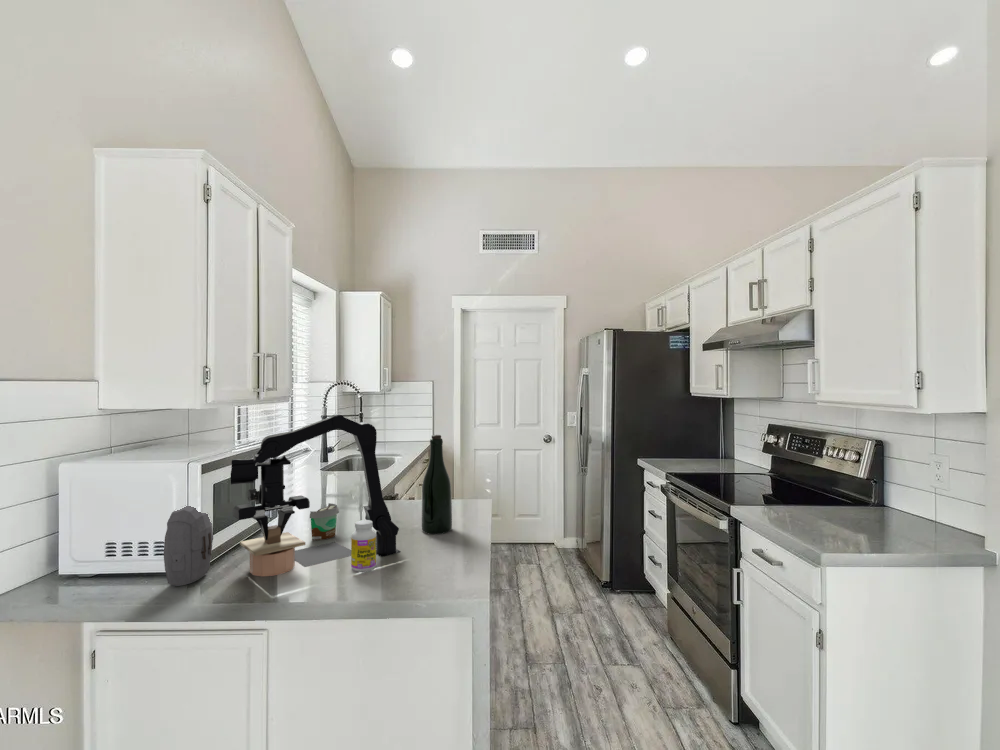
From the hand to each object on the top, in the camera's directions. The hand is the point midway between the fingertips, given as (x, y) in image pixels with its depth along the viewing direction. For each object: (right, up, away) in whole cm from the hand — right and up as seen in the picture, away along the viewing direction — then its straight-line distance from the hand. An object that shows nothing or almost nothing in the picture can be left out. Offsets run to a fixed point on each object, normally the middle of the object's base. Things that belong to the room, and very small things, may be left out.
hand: (272, 538), depth 144 cm
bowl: (0, -9, 0) cm, 9 cm away
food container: (+6, -9, +29) cm, 31 cm away
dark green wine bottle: (+41, -9, +37) cm, 56 cm away
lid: (0, -2, 0) cm, 2 cm away
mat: (+9, -9, +12) cm, 18 cm away
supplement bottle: (+25, -9, +1) cm, 26 cm away
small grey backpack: (-18, -9, -7) cm, 21 cm away
